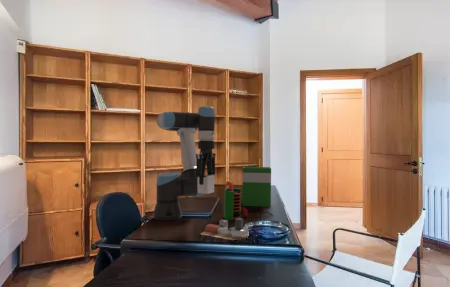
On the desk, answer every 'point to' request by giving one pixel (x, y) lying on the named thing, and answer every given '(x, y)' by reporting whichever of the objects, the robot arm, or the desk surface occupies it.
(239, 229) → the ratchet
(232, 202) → the motor
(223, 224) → the socket
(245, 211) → the glasses
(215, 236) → the tool board
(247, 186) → the hardback book
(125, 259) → the desk surface
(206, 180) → the socket
